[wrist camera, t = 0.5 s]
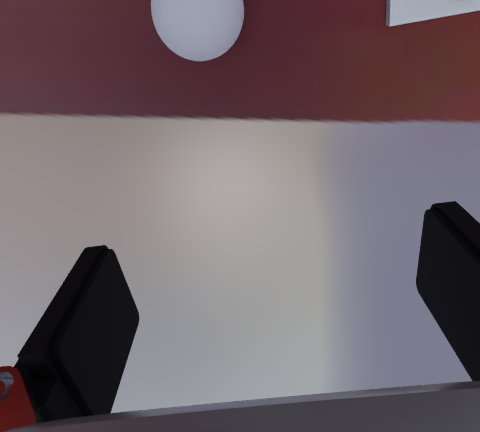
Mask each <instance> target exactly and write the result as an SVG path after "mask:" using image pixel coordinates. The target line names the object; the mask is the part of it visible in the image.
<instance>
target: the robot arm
mask: <svg viewBox="0 0 480 432" xmlns="http://www.w3.org/2000/svg"><path fill="white" fill-rule="evenodd" d="M416 286H417V289H418V292H419V294H420V295H421V297H422V299H423V301H424V302H425V304H426V305H427V307H428V309H429V310H430V312H431V313H432V315H433V317H434V318H435V320H436V322H437V323H438V325H439V327H440V328H441V330H442V332H443V333H444V335H445V337H446V338H447V340H448V341H449V343H450V345H451V346H452V348H453V350H454V351H455V353H456V355H457V356H458V358H459V359H460V361H461V363H462V364H463V366H464V368H465V369H466V371H467V373H468V374H469V376H470V377H471V379H472V381H470V382H455V383H442V384H429V385H417V386H406V387H394V388H382V389H370V390H358V391H346V392H335V393H323V394H312V395H301V396H289V397H280V398H267V399H256V400H246V401H234V402H225V403H214V404H202V405H192V406H181V407H171V408H160V409H150V410H139V411H130V412H120V413H112V414H110V413H111V409H112V406H113V403H114V400H115V397H116V394H117V390H118V387H119V384H120V381H121V378H122V374H123V371H124V368H125V365H126V362H127V359H128V355H129V352H130V349H131V346H132V343H133V339H134V336H135V333H136V330H137V327H138V323H139V313H138V310H137V307H136V305H135V302H134V300H133V298H132V295H131V292H130V290H129V287H128V285H127V282H126V280H125V278H124V275H123V272H122V270H121V267H120V264H119V262H118V260H117V257H116V254H115V252H114V251H113V250H112V249H108V247H107V246H105V245H102V246H94V247H87V248H85V249H84V250H83V252H82V253H81V255H80V257H79V258H78V260H77V261H76V263H75V265H74V266H73V268H72V270H71V271H70V273H69V274H68V276H67V277H66V279H65V281H64V282H63V284H62V286H61V287H60V289H59V290H58V292H57V293H56V295H55V297H54V298H53V300H52V301H51V303H50V305H49V306H48V308H47V310H46V311H45V313H44V315H43V316H42V317H41V319H40V321H39V322H38V324H37V326H36V327H35V329H34V330H33V332H32V334H31V335H30V337H29V338H28V340H27V341H26V343H25V345H24V346H23V348H22V349H21V351H20V353H19V354H18V358H19V359H18V361H17V363H16V365H15V366H14V367H11V366H2V367H0V432H480V223H479V222H477V221H476V220H475V219H474V218H473V217H472V216H471V215H470V214H469V213H468V212H467V211H466V210H465V209H464V208H462V207H461V206H460V205H459V204H458V203H457V202H455V201H454V202H444V203H436V204H433V205H432V206H431V208H430V209H428V210H426V211H425V214H424V222H423V229H422V237H421V245H420V253H419V261H418V270H417V277H416Z"/></svg>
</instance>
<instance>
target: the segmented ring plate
mask: <svg viewBox="0 0 480 432" xmlns="http://www.w3.org/2000/svg"><path fill="white" fill-rule="evenodd" d="M478 10H480V0H387V1H386V26H395V25H401V24H406V23H412V22H417V21H423V20H428V19H434V18H439V17H445V16H450V15H456V14H462V13H467V12H473V11H478Z"/></svg>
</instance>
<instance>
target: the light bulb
mask: <svg viewBox="0 0 480 432" xmlns="http://www.w3.org/2000/svg"><path fill="white" fill-rule="evenodd" d="M151 13H152V18H153V22H154V26H155V28H156V30H157V33H158V35H159V36H160V38H161V39H162V41H163V42H164V43H165V44H166V46H167V47H168V48H169V49H170V50H172V51H173V52H174V53H176V54H177V55H179V56H181V57H183V58H185V59H189V60H193V61H206V60H211V59H214V58H216V57H219V56H221V55H222V54H224V53H225V52H227V51H228V50H229V48H230V47H231V46H232V45H233V44H234V43H235V41H236V39H237V38H238V36H239V33H240V31H241V29H242V24H243V20H244V4H243V0H151Z"/></svg>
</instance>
